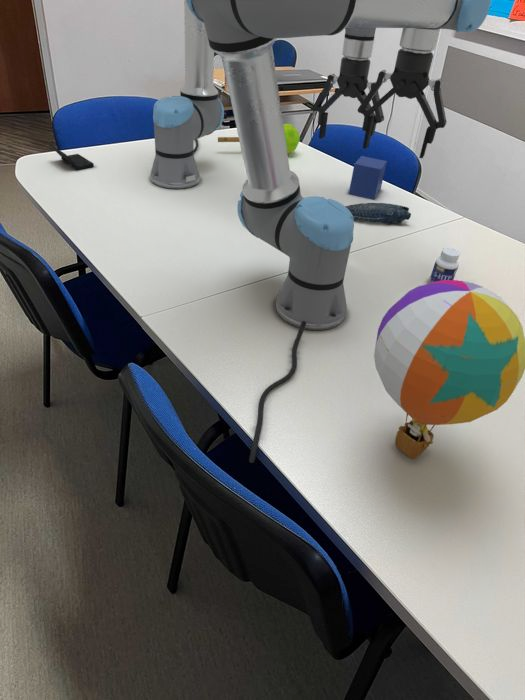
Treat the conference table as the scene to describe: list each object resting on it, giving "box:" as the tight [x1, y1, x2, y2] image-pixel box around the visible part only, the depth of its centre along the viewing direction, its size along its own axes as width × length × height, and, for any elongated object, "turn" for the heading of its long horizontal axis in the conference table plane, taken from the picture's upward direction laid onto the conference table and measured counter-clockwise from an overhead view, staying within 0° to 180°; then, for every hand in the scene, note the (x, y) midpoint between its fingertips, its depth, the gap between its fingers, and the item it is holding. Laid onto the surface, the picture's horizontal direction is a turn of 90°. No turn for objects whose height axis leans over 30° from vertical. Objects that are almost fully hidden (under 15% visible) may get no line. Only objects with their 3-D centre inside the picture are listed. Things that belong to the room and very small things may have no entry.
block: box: [348, 155, 388, 201], centre depth 166 cm, size 8×9×10 cm
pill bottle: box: [428, 247, 461, 284], centre depth 123 cm, size 5×5×9 cm
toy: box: [373, 279, 525, 460], centre depth 74 cm, size 20×20×30 cm
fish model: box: [344, 202, 412, 225], centre depth 150 cm, size 7×21×5 cm, turn 84°
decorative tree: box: [217, 123, 301, 155], centre depth 187 cm, size 18×10×30 cm
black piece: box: [49, 143, 95, 171], centre depth 167 cm, size 12×7×10 cm
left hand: (343, 142), depth 147 cm, fingers open, 13 cm apart
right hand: (393, 151), depth 124 cm, fingers open, 13 cm apart
